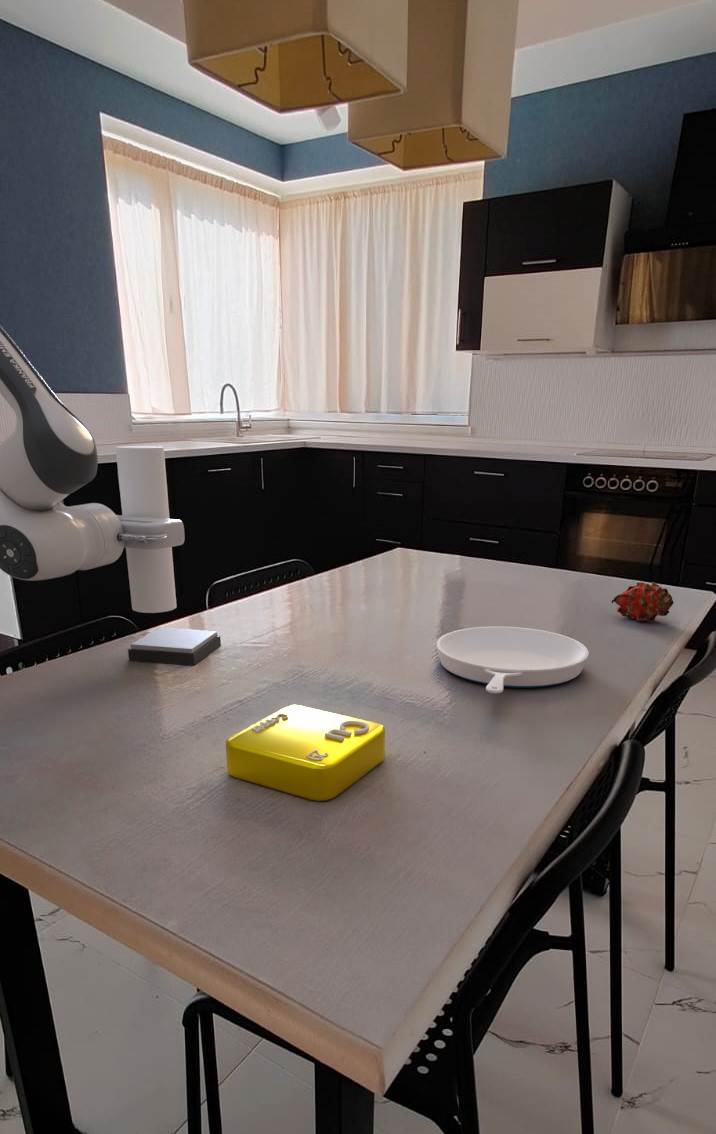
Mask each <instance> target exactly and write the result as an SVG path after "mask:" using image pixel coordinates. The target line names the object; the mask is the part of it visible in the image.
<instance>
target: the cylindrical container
mask: <svg viewBox="0 0 716 1134" xmlns="http://www.w3.org/2000/svg"><path fill="white" fill-rule="evenodd" d="M115 455H116V464H117V466H116V467H117V474H118V485H119V494H120V495H119V496H120V503H121V504H120V505H121V515H123V516H136V517H150V518H163V519H170V508H169V496H168V483H167V471H166V458H165V446H159V445H120V446H119V445H118V446H115ZM125 552H126V553H125V554H126V562H127V563H126V564H127V570H128V571H127V572H128V580H129V581H128V582H129V591H130V602H131V609H132V611H134V612H137V613H143V614H148V613H149V614H156V613H166V612H170V611H173V610H175V609H177V597H176V583H175V573H174V572H175V571H174V561H173V560H174V558H173V547H168V548H163V549H135V548H125Z"/></svg>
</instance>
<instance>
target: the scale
mask: <svg viewBox="0 0 716 1134" xmlns="http://www.w3.org/2000/svg"><path fill="white" fill-rule="evenodd" d="M221 646H222V642H221V635H220V634H218V631H217V630H204V629H188V628H178V627H177V628H174V627H157V628H156V629H154V630H152V631H151V632H149V633H147V634H146V635H144V636H142V637H141V638H139V639H137V640H135V641H134V642H132V643H130V647H129V648H128V649H127V654H128V661H131V662H132V661H133V662H143V663H144V662H145V663H157V664H167V665H168V664H169V665H183V666H196V665H198V664H199V663H200V662H201V661H202V660H204V659H205V658H206V657H208V656H209V655H211V654H212V653H213V652H214V651H216V650H217V649H219V648H220V647H221Z"/></svg>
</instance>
